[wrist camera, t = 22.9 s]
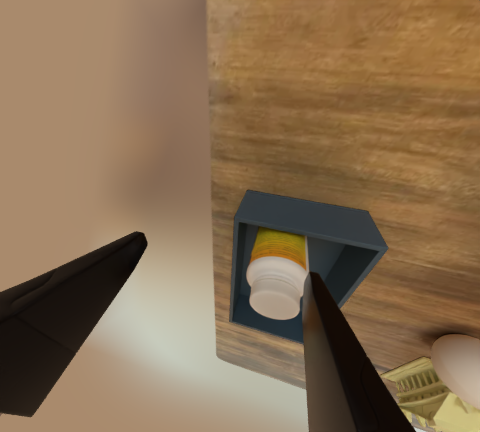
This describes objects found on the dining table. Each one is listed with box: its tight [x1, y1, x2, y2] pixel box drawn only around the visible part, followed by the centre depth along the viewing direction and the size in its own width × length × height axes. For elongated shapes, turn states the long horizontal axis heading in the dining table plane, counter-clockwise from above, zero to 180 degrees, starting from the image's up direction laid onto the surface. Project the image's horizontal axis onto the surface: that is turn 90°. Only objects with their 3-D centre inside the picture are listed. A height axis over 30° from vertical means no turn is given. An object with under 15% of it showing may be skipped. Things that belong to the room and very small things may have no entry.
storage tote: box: [229, 190, 388, 345], centre depth 24 cm, size 22×13×6 cm, turn 176°
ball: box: [431, 334, 480, 410], centre depth 23 cm, size 8×8×8 cm
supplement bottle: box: [246, 226, 309, 320], centre depth 18 cm, size 6×6×10 cm
